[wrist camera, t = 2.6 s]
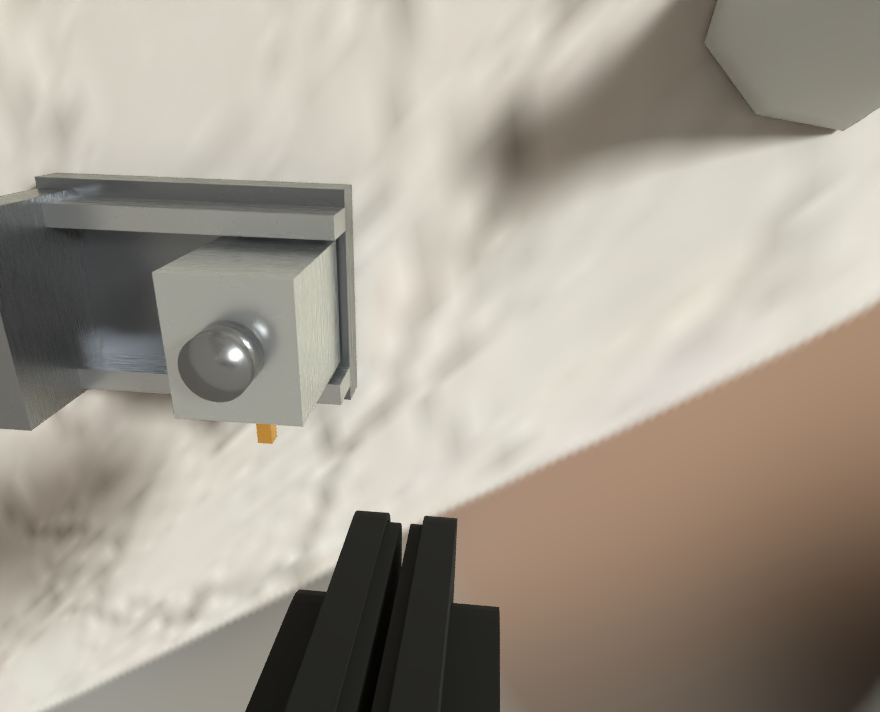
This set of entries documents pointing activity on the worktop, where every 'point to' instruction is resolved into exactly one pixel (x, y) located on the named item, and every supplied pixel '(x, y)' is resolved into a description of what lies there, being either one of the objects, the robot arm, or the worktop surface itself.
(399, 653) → the robot arm
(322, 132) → the worktop surface
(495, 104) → the worktop surface
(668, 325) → the worktop surface
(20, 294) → the base
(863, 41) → the flask
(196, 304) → the knobbed grey cube
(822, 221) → the worktop surface
